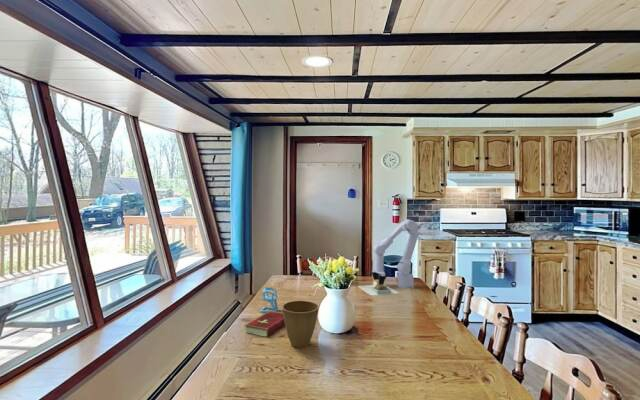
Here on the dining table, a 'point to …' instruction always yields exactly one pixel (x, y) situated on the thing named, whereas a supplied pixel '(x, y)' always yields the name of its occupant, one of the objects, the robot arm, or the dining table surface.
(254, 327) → the hardcover book
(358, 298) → the dining table surface
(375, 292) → the packing board
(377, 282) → the cream box
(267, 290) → the chair
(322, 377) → the dining table surface
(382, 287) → the walnut block
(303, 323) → the plant pot
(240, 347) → the dining table surface
